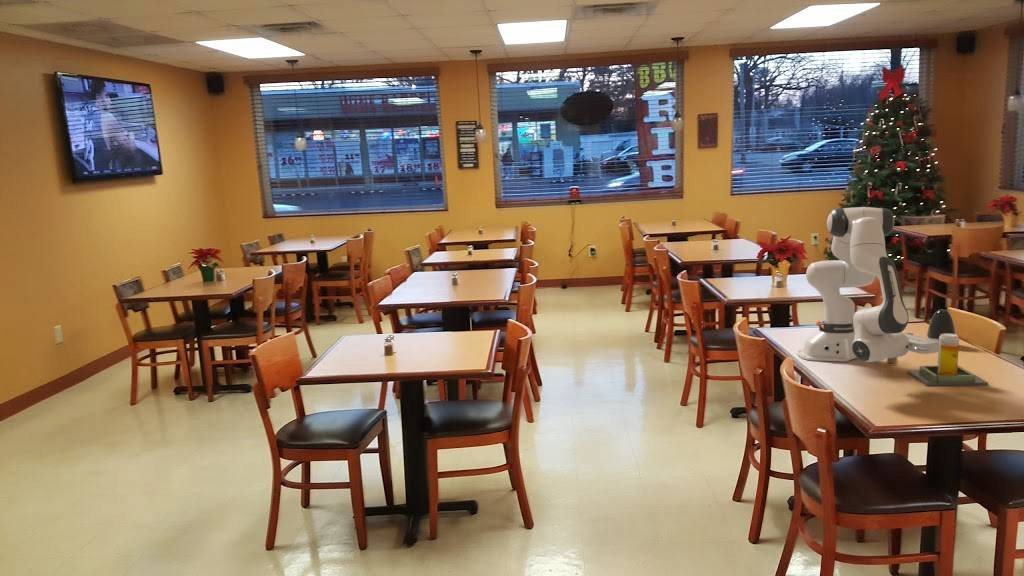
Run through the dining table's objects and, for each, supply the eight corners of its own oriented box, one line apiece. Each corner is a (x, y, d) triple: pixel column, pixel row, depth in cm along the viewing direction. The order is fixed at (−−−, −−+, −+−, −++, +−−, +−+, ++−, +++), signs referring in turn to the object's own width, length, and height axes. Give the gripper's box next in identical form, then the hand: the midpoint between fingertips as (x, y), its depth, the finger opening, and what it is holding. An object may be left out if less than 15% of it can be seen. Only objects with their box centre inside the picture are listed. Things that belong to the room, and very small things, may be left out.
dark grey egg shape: (951, 342, 309) (953, 307, 306) (957, 348, 299) (959, 312, 296) (924, 341, 312) (926, 306, 309) (929, 347, 302) (931, 311, 300)
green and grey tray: (926, 385, 254) (926, 377, 254) (907, 372, 270) (907, 364, 270) (988, 385, 252) (988, 376, 251) (965, 372, 267) (966, 364, 267)
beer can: (959, 378, 257) (961, 337, 255) (940, 378, 258) (942, 337, 256) (953, 373, 263) (955, 333, 260) (934, 373, 264) (936, 333, 262)
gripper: (922, 341, 239) (952, 335, 244) (870, 328, 257) (899, 323, 263) (921, 360, 240) (951, 354, 245) (869, 346, 259) (898, 340, 264)
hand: (923, 338), depth 254 cm, fingers open, 8 cm apart
